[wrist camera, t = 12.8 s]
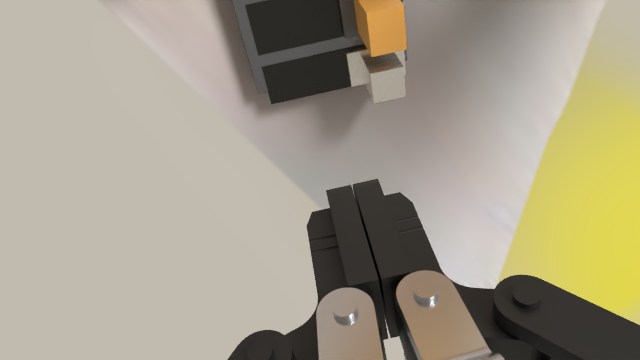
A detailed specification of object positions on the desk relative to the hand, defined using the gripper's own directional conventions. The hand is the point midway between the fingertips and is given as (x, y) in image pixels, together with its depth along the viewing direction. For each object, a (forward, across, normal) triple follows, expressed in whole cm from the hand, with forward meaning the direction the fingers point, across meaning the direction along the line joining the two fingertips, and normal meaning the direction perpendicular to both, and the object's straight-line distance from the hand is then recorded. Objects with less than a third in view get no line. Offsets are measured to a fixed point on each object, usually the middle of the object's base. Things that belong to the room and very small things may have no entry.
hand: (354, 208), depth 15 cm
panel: (+27, -2, +4) cm, 28 cm away
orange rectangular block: (+25, -5, +4) cm, 26 cm away
